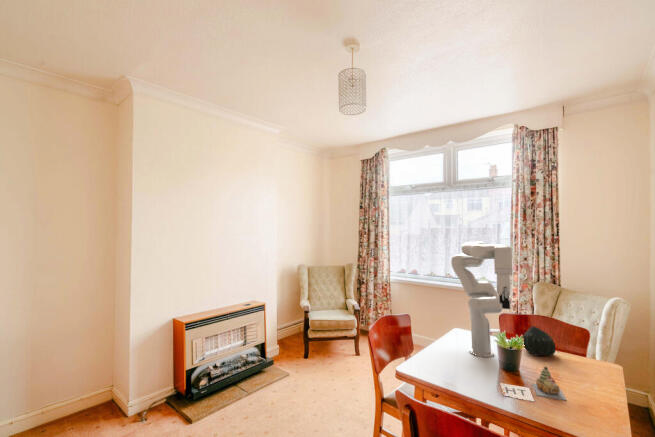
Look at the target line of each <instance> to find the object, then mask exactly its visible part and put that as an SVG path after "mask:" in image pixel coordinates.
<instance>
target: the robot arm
mask: <svg viewBox="0 0 655 437" xmlns="http://www.w3.org/2000/svg"><path fill="white" fill-rule="evenodd" d="M461 252H462V253H458V254H455V255H453V256H452V257H451V260H450V261H451V267H452V270H453V272H454V274H455V275H456V276H457V277H458V279H459V280H460V283H461V286H462V288H463V291H464V292H465V294H466V295H467V297H469V299H468V300H467V301H468V302H467V304H468V305H467V306H468V309H469V315H470V328H471V331H470V332H471V347H469V348H468V349H469V350H470V351H469V350H468V351H469V353H470V352H472V353H474V354H476V355H478V356H477V357H480V356H484V357H483V358H491V357H490V356H492V357H493V355H495V351H494V350H492V347H491V327H490V325H491V324H490V320H489V319H488V318H487V316H486V314H487V315H488V314H493V315H494V314H499V313H501V312H502V311H503V309H504V310H510V309H511V300H510V295H511V276H513V257H512V256H513V252H512V247H511V246H509V245H503V244H500V243H497V244H495V243H494V244H493V243H491V244H488V243H487V242H484V241H468V242H464V243H463V244H462V246H461ZM485 260H493V261H494V275H496V289H495V287H494V285H493V283H491V282H490V281H488V280H477V279H476V277H475V275H474V274H473V272H471V271H470V270H469V269H467V268H477V267H478V268H479V267H481V266H482V265H483V263H484V261H485ZM472 353H471V354H472ZM474 354H473V355H474ZM476 355H475V356H476Z"/></svg>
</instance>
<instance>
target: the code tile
mask: <svg viewBox="0 0 655 437" xmlns="http://www.w3.org/2000/svg"><path fill="white" fill-rule="evenodd" d="M500 388H501V390H502V389H504V390H503V392H506V393H507V396H510V397H509V398H511V397H512V399H516V398H518V400H522V399H523V401H527V402H535V399H534V397H533V394H532V392H531V389H530V387H526V386H521V385H512V384H508V383H502V382H500ZM508 391H510V393H509V392H508ZM503 392H502V393H503ZM505 396H506V395H505ZM505 396H504V397H505Z"/></svg>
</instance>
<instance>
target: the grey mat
mask: <svg viewBox="0 0 655 437" xmlns="http://www.w3.org/2000/svg"><path fill="white" fill-rule="evenodd" d="M531 384H532V386H533V389H534V391H535V393H536V396H537V397H543V398H548V399H554V400H560V401H565V402H566V401H568V400H567V398H566V396H565V395H564V393H563V392H562V390H561V388H560V387H559V390H560V393H559V394H548V393H545V392H544V391H543V390H542V389H539V388H538V387H537V384H536V383H531Z"/></svg>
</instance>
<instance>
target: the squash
mask: <svg viewBox="0 0 655 437" xmlns="http://www.w3.org/2000/svg"><path fill="white" fill-rule="evenodd" d="M522 338H524V345H525V346H523V347H524V349H525V350H526V352H528V353H530V354H532V355H534V356H539V355H540V356H543V355H544V356H547V357H551V356H553V355H554V354H555V353H556V343H555V341H554V338H552V337H551V335H550V334H548V333H547V332H546V331H544V330H542V329H540V328H538V327H536V326H534V325H533V326H531V327H529V329H527V331H525V332H524V334H523V336H522Z"/></svg>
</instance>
